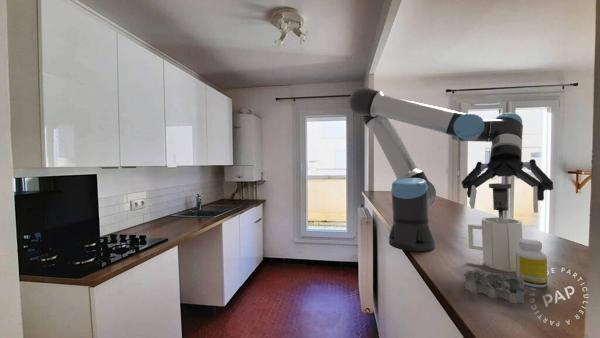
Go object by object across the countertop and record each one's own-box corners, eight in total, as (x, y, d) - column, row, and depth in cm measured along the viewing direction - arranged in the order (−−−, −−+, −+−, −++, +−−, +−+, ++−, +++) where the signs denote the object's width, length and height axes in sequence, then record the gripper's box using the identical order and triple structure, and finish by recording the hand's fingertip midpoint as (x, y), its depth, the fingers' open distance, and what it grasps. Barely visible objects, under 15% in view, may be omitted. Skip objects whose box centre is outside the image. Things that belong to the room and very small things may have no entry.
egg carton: (462, 291, 58) (461, 273, 58) (469, 280, 63) (468, 263, 63) (524, 308, 50) (523, 287, 50) (526, 293, 55) (526, 274, 55)
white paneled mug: (466, 263, 72) (464, 220, 72) (472, 255, 78) (471, 215, 78) (522, 275, 63) (520, 225, 63) (524, 264, 70) (522, 219, 69)
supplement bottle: (554, 289, 56) (552, 245, 56) (525, 287, 57) (523, 244, 57) (537, 278, 61) (535, 238, 61) (511, 277, 63) (509, 237, 63)
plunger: (487, 259, 69) (484, 184, 69) (490, 252, 74) (488, 183, 73) (516, 264, 65) (513, 185, 65) (517, 257, 69) (515, 183, 69)
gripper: (563, 157, 72) (568, 220, 62) (462, 162, 90) (452, 211, 79) (563, 138, 68) (568, 201, 58) (457, 147, 86) (446, 197, 75)
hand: (501, 207), depth 69 cm, fingers open, 13 cm apart
